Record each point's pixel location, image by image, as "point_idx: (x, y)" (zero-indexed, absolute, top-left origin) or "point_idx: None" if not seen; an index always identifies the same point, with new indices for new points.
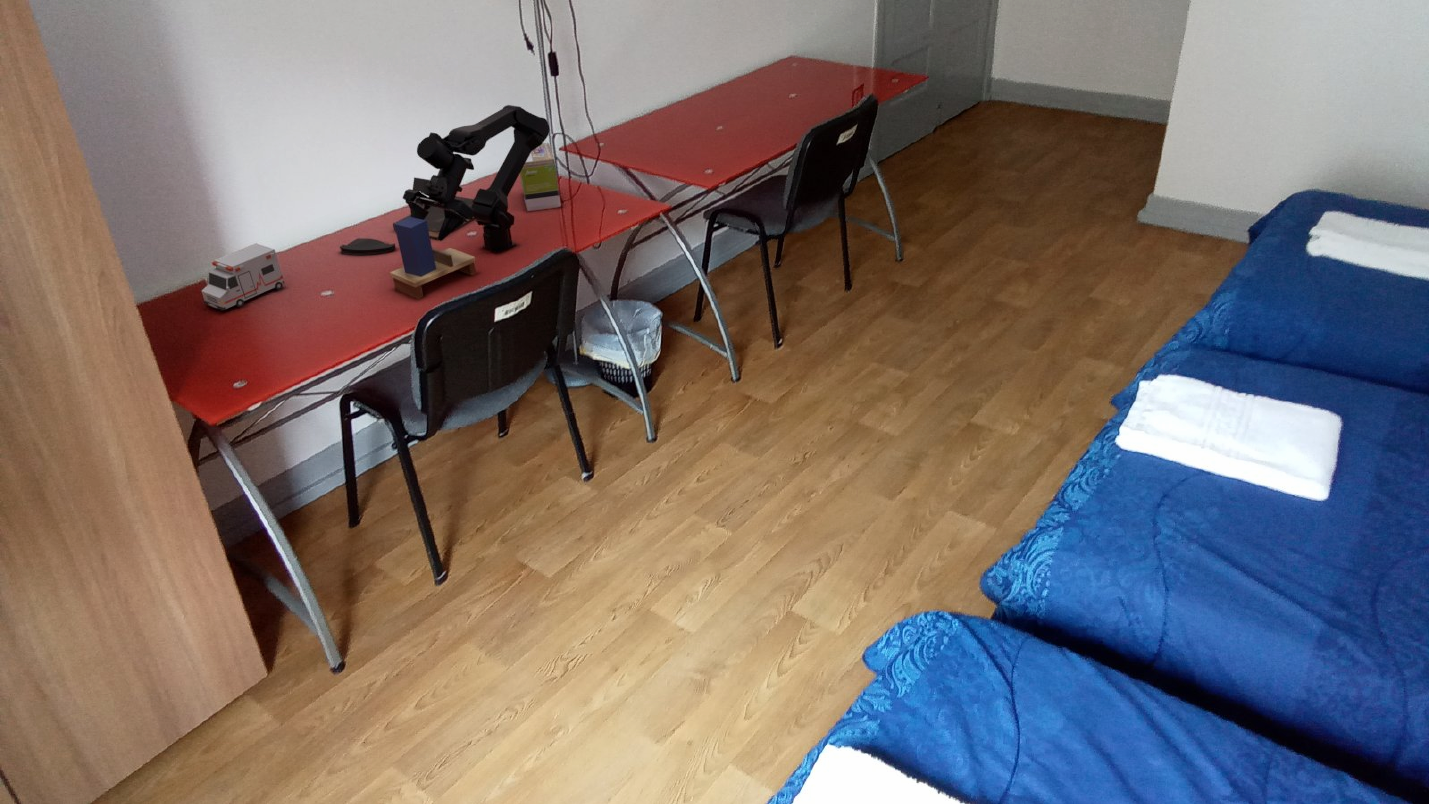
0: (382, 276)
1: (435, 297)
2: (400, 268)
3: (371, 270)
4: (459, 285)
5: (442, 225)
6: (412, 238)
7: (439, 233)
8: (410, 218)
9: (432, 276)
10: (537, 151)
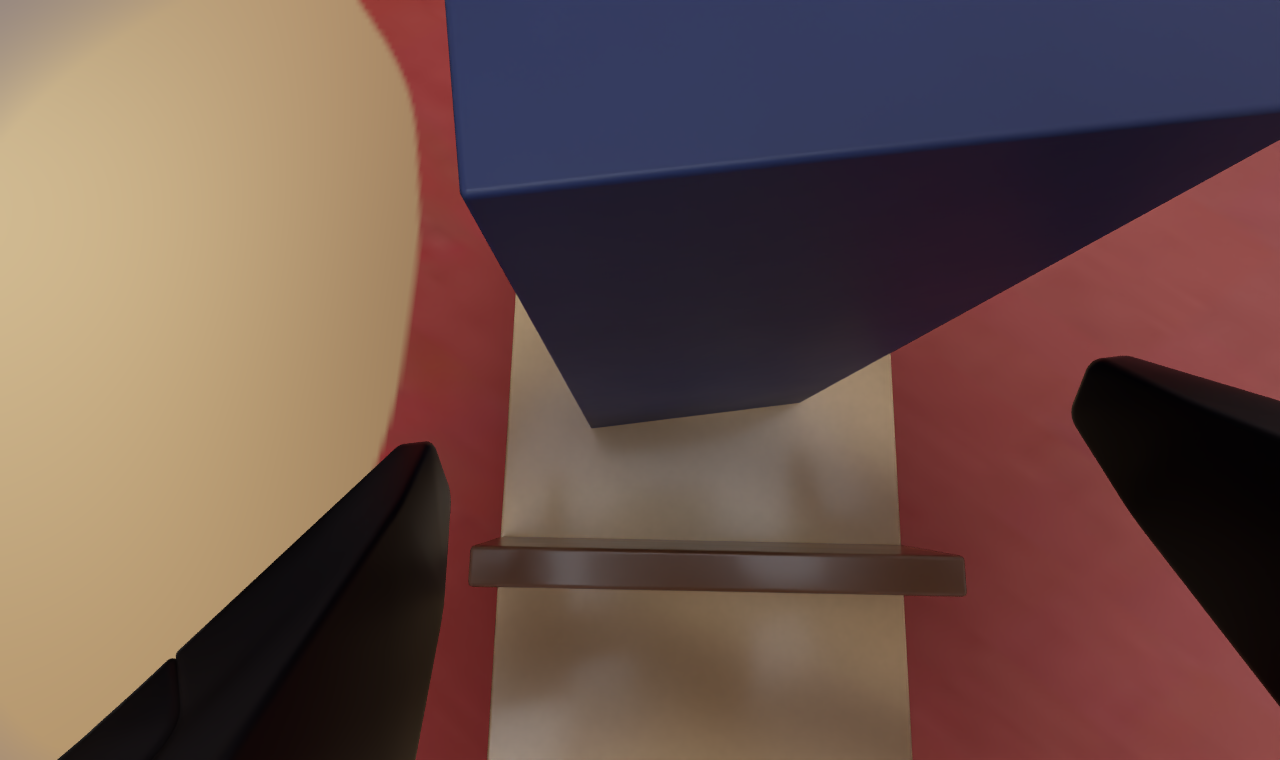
0: (1082, 304)
1: (476, 307)
2: None
3: (1239, 321)
4: (477, 536)
5: (273, 653)
6: None
7: (383, 499)
8: (1162, 9)
9: (514, 323)
10: None
